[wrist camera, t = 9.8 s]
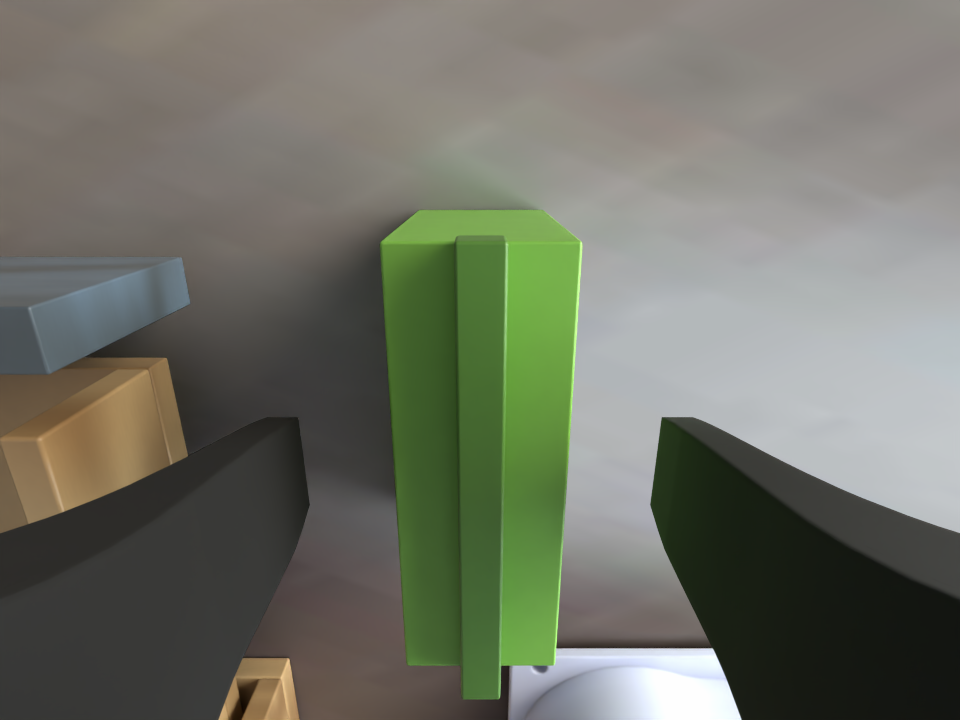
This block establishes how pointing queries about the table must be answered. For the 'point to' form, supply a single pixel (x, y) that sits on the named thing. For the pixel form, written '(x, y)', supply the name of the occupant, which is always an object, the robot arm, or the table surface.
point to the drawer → (84, 385)
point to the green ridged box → (480, 433)
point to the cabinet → (266, 689)
